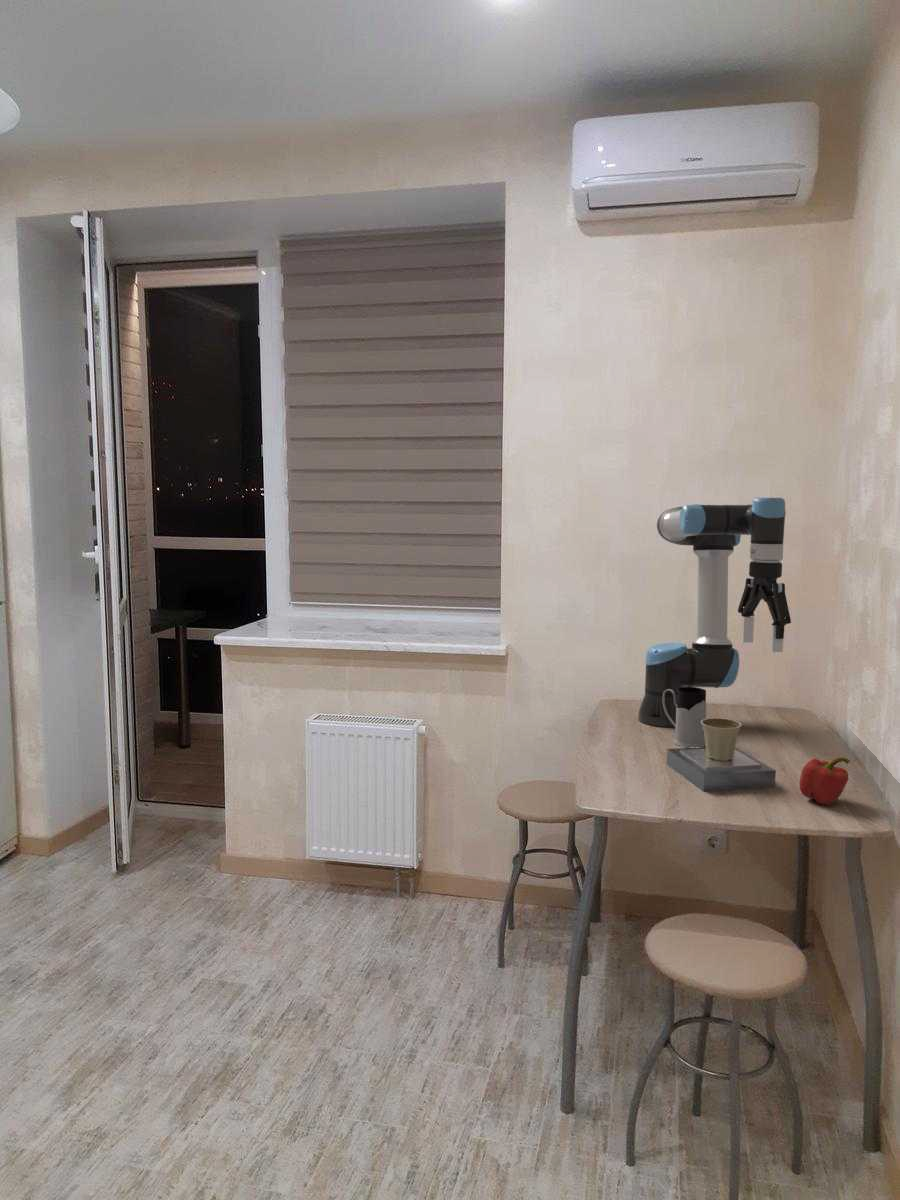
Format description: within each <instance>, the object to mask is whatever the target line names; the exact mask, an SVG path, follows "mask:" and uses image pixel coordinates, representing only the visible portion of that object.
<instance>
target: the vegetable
mask: <svg viewBox="0 0 900 1200" xmlns="http://www.w3.org/2000/svg"><path fill="white" fill-rule="evenodd" d="M842 762H845V764H849V763H850V762H851V760H850V759H849V758H848V757H836V758H833V759H832V760H831V761H829V762H828V761H823V760H822V761H820V760H819V759H817V758H813V759H810V760H809V761H808V762H807V763H806V764H805V765H804V766H803V767H802V770H801V774H800V777H799V790H800V792H801V794H802V795H803V796H805V797H806V798H808V799H813V800H815V801H816V802H817V803H818V804H820V805H831V804H833V803H836V801H837V800H838V799H839V798H840V796H841V795H842V793H843V791H844V789H845V788H846V785H847V783H848V781H849V773H848V771H847V770H845V768H842V767H839V766H835V765H837V764H839V763H842Z"/></svg>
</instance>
